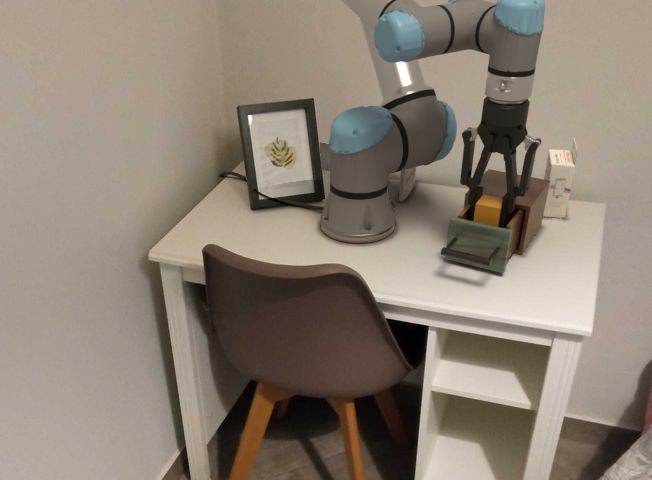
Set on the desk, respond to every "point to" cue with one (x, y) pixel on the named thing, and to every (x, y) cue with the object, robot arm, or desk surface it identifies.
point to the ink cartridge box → (559, 180)
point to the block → (488, 210)
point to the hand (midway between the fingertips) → (488, 224)
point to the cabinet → (519, 202)
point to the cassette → (406, 182)
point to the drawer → (483, 240)
